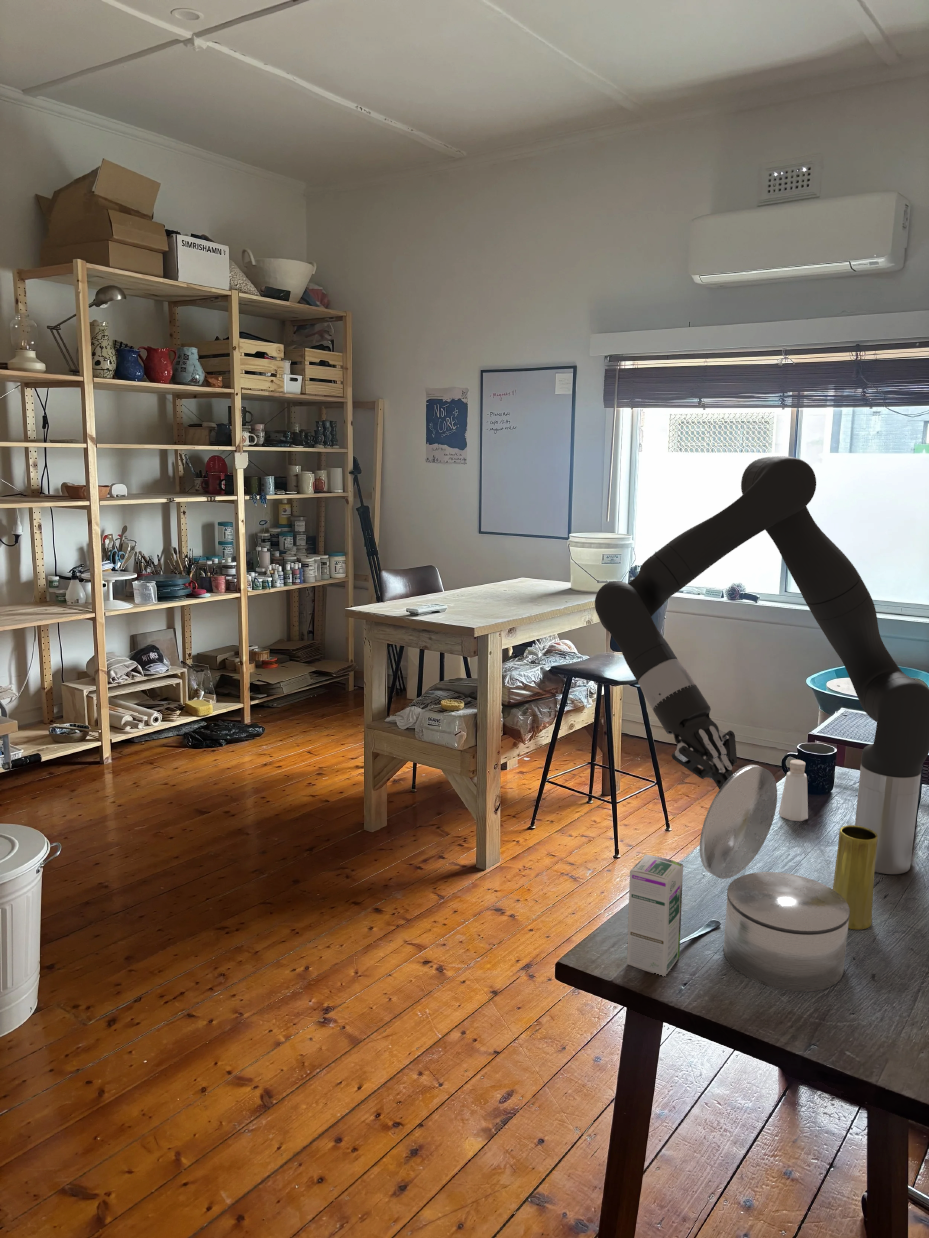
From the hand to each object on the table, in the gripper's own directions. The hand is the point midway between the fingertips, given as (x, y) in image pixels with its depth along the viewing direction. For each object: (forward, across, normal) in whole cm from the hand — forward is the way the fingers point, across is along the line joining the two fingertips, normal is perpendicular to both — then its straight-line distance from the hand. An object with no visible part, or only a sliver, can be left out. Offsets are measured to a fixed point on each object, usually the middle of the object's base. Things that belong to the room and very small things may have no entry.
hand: (736, 797), depth 131 cm
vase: (+22, +17, +8) cm, 29 cm away
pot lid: (+3, 0, +1) cm, 4 cm away
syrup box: (+14, -15, +16) cm, 26 cm away
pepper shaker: (+3, +45, +27) cm, 52 cm away
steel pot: (+21, 0, +8) cm, 23 cm away
